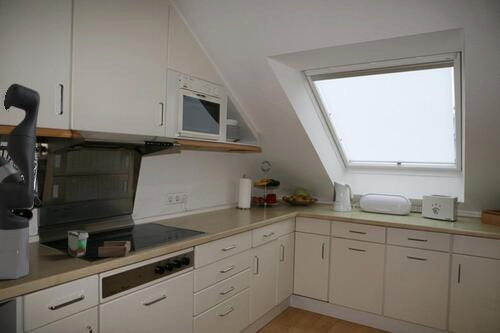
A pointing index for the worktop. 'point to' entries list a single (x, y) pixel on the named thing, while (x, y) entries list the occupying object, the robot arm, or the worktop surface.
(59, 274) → the worktop surface
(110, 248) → the walnut tray
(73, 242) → the food container
